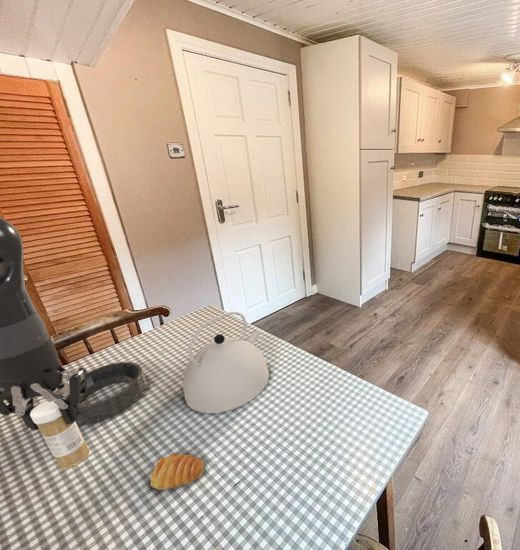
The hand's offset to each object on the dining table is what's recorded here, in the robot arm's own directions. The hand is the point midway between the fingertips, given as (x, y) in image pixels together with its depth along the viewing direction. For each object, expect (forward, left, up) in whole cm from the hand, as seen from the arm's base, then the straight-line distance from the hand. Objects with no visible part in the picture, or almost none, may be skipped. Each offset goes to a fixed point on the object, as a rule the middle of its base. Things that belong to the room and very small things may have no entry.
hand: (56, 422), depth 54 cm
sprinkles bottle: (0, 0, -10) cm, 10 cm away
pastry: (+16, -1, -18) cm, 25 cm away
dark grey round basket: (-9, +27, -18) cm, 34 cm away
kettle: (+23, +26, -18) cm, 39 cm away
